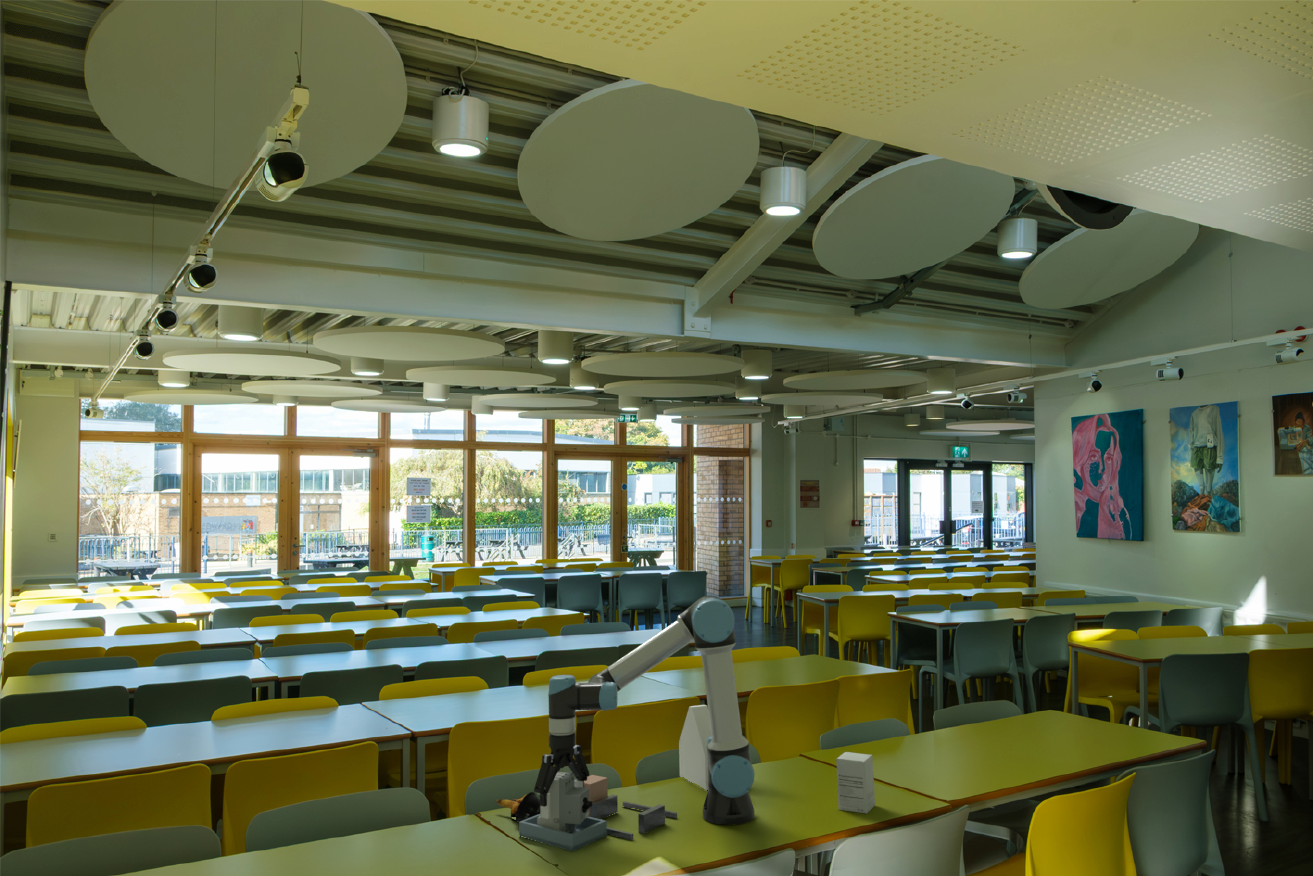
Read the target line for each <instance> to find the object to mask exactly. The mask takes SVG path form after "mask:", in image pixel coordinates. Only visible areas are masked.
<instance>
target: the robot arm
mask: <svg viewBox="0 0 1313 876" xmlns="http://www.w3.org/2000/svg"><path fill="white" fill-rule="evenodd" d="M735 620H736V619H735V615H734V612H733V610H732V608H731V607H730V605H729V604H728V603H727V602H726V601H724V600H723V599H722V598H720V597H718V596H715V595H705V596H702V597H700V598H698V599H697V600H696V601H694V603H692V605H690V606H689V607H688V608H687V609H685V610H684V611H683V612H681V613H680V614H678V615H677V619H676V620H675V621H674V622H672V623H671V624H670V625H668V626H667V627H665V628H664V629H662V630H661V631H659V632H658V633H656V634H654V636H652V637H650V638H649V639H648V640H645V641H644V642H643V643H641V644H640V645H638V646H637V647H636V648H634V649H633V650H631V651H629V652H628V653H627V654H625V655H624V656H623V657H621V658H620V659H618V660H617V661H615V662H613V663H612V664H611V665H608V666H607V668H605V669H604V670H602V671H600V672H598V673H595V674H594V675H592V676H591V677H590V679H589V680H588V681H587V682H577V681H576V677H575V676H574V675H573V674H572V675H571V674H561V675H560V674H558V675H554V676H551V678H550V679H548V680H549V681H548V692H547V693H548V695H547V697H548V732H549V734H548V747H549V749H550V754H545V753H544V754H542V757H541V764H540V765H541V766H540V767H539V772H538V775H537V778H536V780H535V781H536V782H535V785H534V787H533V792H534V793H536V794H537V793H539V794H540V795H539V800H540V806H541V817H542V818H546V819H550V793H548V791H549V789H550V787H551V785H552V783H553V780H554V778H555V776H556V774H557V772H560V770H561V769H564V768H565V767H568V768H569V770H570V771H571V773H574V778H576V779H574V787H584V781H586V780H587V777H588V776H590V771H589V768H588V766H587V763H586V760H585V757H584V754H583V747H582V746H581V745H578V744H576V741H577V740H576V737H577V736H576V733H575V731H576V730H577V729H576V726H577V724H576V723H577V721H576V720H577V719H576V718H577V717H576V712H577V711H604V712H605V711H609V710H610V711H613V710H615V709H617V707H618V700H619V699H618V695H619V694H618V692H620V691H621V690H622V689H623V688H625V687H626V686H628V685H629V684H631V683H632V682H634V681H635V680H636V679H638V678H640V677H641V676H643V675H644V674H646V673H647V672H649V671H650V670H652V669H653V668H655V667H656V666H657V665H659V664H661V663H662V662H663V661H665V660H667V659H668V658H669V657H671V656H672V655H674V654H675V653H677V652H678V651H680V650H681V649H683V648H685V647H686V646H687V645H689V644H690V643H694V648H695V650H696V651H698V652H700V654H701V662H702V669H703V677H704V685H705V691H706V701H707V702H706V703H707V707H708V711H709V719H710V727H711V735H712V736H710V737H709V738H708V740H707V746H706V747H707V760H708V791H706V792H707V793H706V795H705V799H704V804H703V806H702V818H703V819H704V820H705V821H707V822H709V823H712V824H717V825H723V824H725V825H727V826H729V825H731V826H732V825H733V824H736V825H742V823H743V824H746V822H747V823H749V822H751V821H753V820H754V819H755V807H754V805H753V802H752V798H751V795H750V793H749V792H750V790H751V789H752V787H753V784H754V781H755V770H754V766H753V765H752V759H751V751H750V744H749V740H748V739H747V738H746V737H745V736H744V735H743V730H742V723H741V714H740V708H739V699H738V692H737V685H736V684H737V683H736V676H735V669H734V661H733V654H732V649H733V648H734V647H735V646H736V644H737V643H736V636H735V628H734V627H735V622H736V621H735ZM539 787H540V788H539ZM544 788H545V789H544ZM725 825H724V826H725Z"/></svg>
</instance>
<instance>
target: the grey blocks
mask: <svg viewBox="0 0 1313 876" xmlns="http://www.w3.org/2000/svg"><path fill="white" fill-rule="evenodd" d="M618 805H619V804H618V795H617V794H609V795H608V796H607V797H605V798H602V799H600V800H597V801H595V802H592V806H591V817H592V818H597V819H602V820H604V819H603V818H605V817H607V816H609V815H612V814H614V813H616V812H619V811H618V809H619V808H618V807H619V806H618ZM623 806H624V807H627V808H626V809H629V808H635V809H639V810H643V812H642V811H640V812H639V813H638V815H637V817H638V818H637V819H638V822H637V823H638V833H639V834H644V835H645V834H647V833H649V832H651V831H653V830H655V829H657V828H659V827H662V826H663V825H665V824H666V818H669V817H670V819H674V820H676V819H678V812H676V811H672V810H667V809H666V806H665V805H664V804H657V805H655V806H650V805H649V806H648V805H644V804H639V803H634V802H629V801H626V800H625V801H623V802H622V807H623ZM624 807H623V808H624ZM616 814H617V813H616ZM614 815H615V814H614ZM612 816H613V815H612ZM665 816H667V817H665ZM609 817H610V816H609ZM607 818H608V817H607ZM605 819H606V818H605ZM664 823H665V824H664ZM608 834H611V835H610V836H612V835H613V836H612V837H616V836H617V838H620V839H625V840H628V841H632V840H634V833H633V832H628V831H625V830H621V829H617V828H612V827H608V826H607V835H608Z"/></svg>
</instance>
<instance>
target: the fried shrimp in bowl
mask: <svg viewBox="0 0 1313 876" xmlns="http://www.w3.org/2000/svg"><path fill="white" fill-rule="evenodd" d="M537 796H538V795H537V793H536V792H534V791H530V792H528V793H526V794H525V795H523V796H522V797H521V798H519V799H517V798H515V799H514V798H513V799H512V800H510V799H501V798H500V799H496V804H497V805H499V806H501V807H503V808H505V809H510V818H511V817H516V820H517V821H518V823H519V822H520V821H523V820H525V819H528V818H530V817H533V816H535V815H538V814H540V798H539V797H537ZM517 821H516V822H517Z"/></svg>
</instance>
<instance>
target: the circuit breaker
mask: <svg viewBox="0 0 1313 876" xmlns="http://www.w3.org/2000/svg"><path fill="white" fill-rule="evenodd" d="M574 780H575V776H574V773H572V772H561V771H558V772H557V774H556V776H555V778H554V780H553V783H552V785H551V787H550V789H549V791H548V793H550V819H546V818H542V817H541V806H540V816H539V817H538V818H537V825H540V826H544V827H548V828H551V829H555V830H559V831H563V832H567V833H570V832H571V831H572V830H573V829H574V828H575V824H581V823H582V822H583V821H584V820H585V819H586V818H587V817H588V816H589V808H590V807H591V806H592V801H589V788H585V787H574ZM539 788H540V787H539ZM544 789H545V788H544ZM536 796H540V794H539V793H537V792H536Z"/></svg>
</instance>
